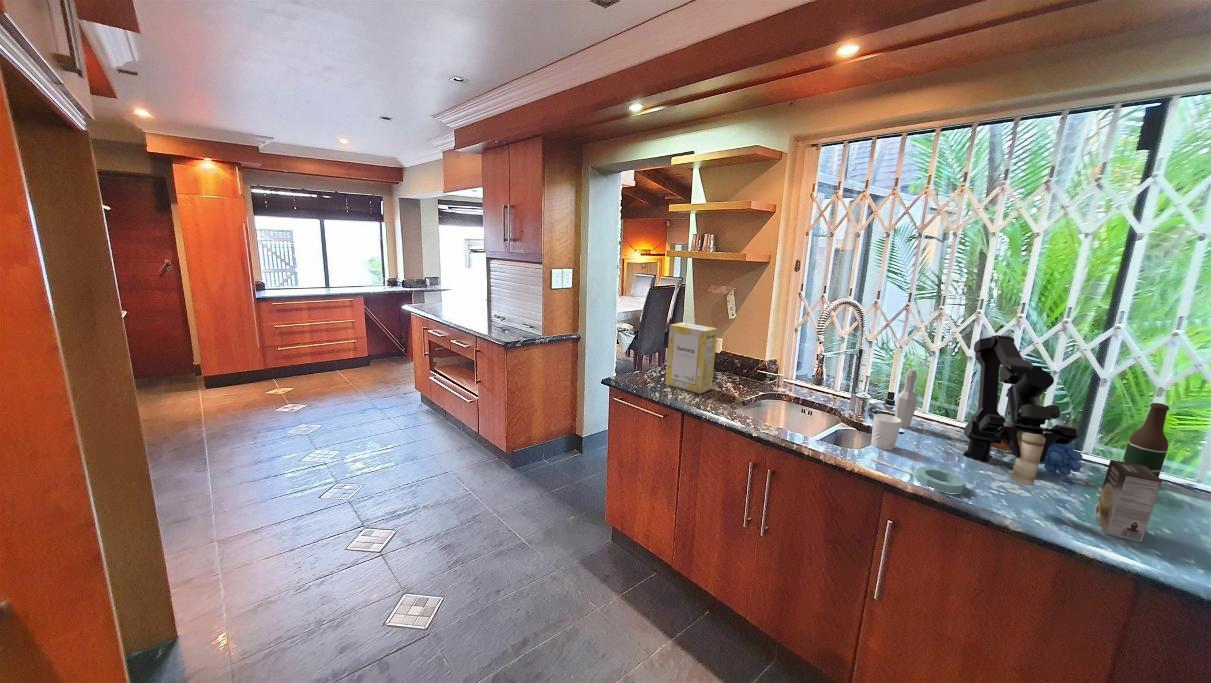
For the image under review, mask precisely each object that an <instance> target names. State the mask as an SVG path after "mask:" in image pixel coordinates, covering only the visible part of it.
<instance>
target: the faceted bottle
mask: <svg viewBox="0 0 1211 683" xmlns="http://www.w3.org/2000/svg"><path fill="white" fill-rule="evenodd" d="M917 376H918V373H917V369H913V368H909V369H908V370H907V371H906V373H905V381H904V382H905V383H904V388H903V390H902V391H901V392H899V394H897V395H896V399H895V400H896V401H895V404H894V416H895V417H897V418H899V419H901V425H900V428H901V427H903V429H909V428H910V427H911V426H910V425H911V423H912V419H913V418H914V414H915V412H916V408H917V402H918V398H917V396H916V395H915V393H914V388H915V383H916V380H917Z"/></svg>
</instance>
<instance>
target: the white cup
mask: <svg viewBox="0 0 1211 683" xmlns="http://www.w3.org/2000/svg"><path fill="white" fill-rule="evenodd" d="M872 420H873V421H872V428H871V429H872V430H871V441H870V443H871V445H872V446H873V447H875V448H877V449H880V450H885V451H893V450H894V449H895V446H896V443H897V439H898V438H899V437H898V436H899V433H900V432H899V431H900V428H901V427H900V425H901V419H899V418H897V417H895V415H892V414H886V413H875V414H874V415H873V419H872Z"/></svg>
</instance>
